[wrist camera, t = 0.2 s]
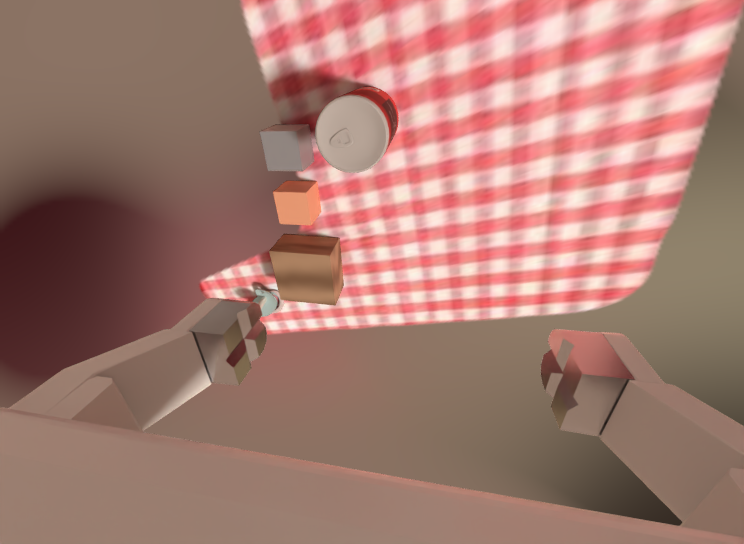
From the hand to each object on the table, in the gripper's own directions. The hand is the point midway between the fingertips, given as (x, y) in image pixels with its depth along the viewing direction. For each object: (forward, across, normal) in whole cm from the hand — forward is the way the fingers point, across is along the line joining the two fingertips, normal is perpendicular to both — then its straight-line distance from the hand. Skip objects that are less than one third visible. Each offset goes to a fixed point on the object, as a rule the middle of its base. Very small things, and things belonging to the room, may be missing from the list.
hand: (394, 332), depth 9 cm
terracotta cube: (+40, +19, +7) cm, 45 cm away
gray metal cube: (+39, +19, -1) cm, 43 cm away
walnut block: (+41, +19, +19) cm, 49 cm away
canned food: (+39, +8, -4) cm, 40 cm away
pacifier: (+42, +30, +29) cm, 59 cm away
